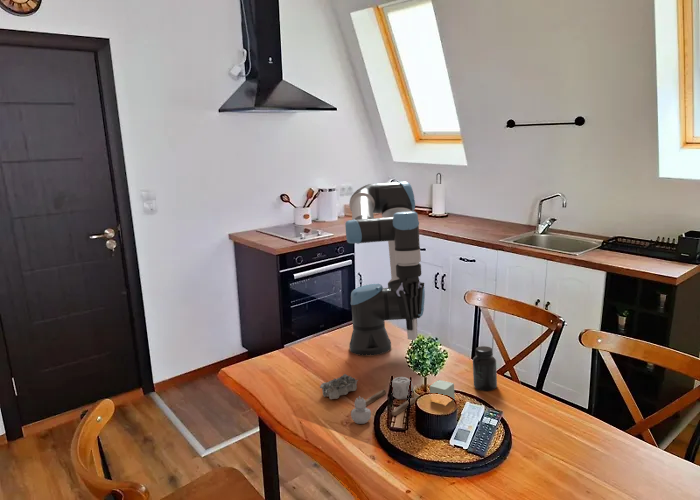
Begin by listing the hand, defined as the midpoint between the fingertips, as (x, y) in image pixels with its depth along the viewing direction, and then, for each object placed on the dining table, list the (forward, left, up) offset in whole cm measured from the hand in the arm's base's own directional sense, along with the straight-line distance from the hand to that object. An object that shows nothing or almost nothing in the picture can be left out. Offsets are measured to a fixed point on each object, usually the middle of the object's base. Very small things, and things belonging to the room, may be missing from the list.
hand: (412, 339), depth 152 cm
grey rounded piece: (+26, 0, -16) cm, 30 cm away
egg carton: (+16, -14, -16) cm, 27 cm away
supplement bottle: (-11, +18, -16) cm, 26 cm away
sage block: (+4, +12, -16) cm, 20 cm away
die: (+7, 0, -16) cm, 17 cm away
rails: (+14, 0, -15) cm, 21 cm away
